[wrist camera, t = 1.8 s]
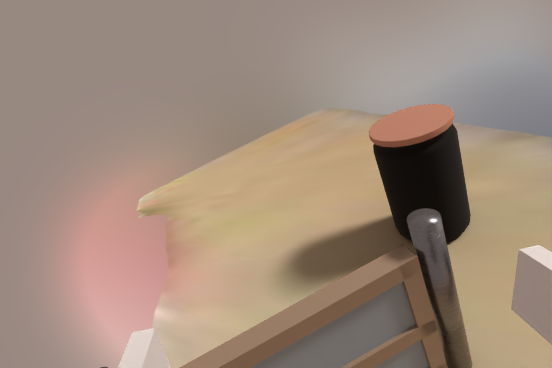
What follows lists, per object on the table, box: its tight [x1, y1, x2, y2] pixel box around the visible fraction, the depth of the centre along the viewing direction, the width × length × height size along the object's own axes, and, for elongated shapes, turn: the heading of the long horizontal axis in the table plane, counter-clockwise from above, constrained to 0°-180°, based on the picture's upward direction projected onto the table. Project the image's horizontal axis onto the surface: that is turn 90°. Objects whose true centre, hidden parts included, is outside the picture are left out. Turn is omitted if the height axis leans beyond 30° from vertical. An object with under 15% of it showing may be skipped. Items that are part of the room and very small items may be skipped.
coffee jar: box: [369, 104, 470, 242], centre depth 45 cm, size 11×11×18 cm
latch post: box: [407, 208, 472, 368], centre depth 28 cm, size 2×2×19 cm
